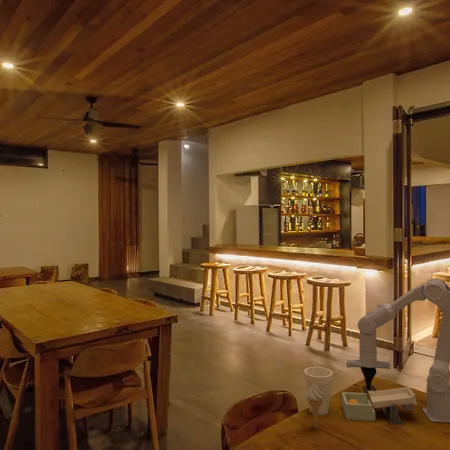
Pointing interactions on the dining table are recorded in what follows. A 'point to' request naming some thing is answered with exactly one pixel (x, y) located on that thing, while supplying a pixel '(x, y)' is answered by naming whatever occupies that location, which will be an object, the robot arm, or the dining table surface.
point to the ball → (353, 401)
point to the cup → (357, 407)
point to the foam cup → (320, 385)
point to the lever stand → (392, 414)
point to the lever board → (392, 397)
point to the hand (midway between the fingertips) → (368, 388)
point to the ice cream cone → (315, 400)
